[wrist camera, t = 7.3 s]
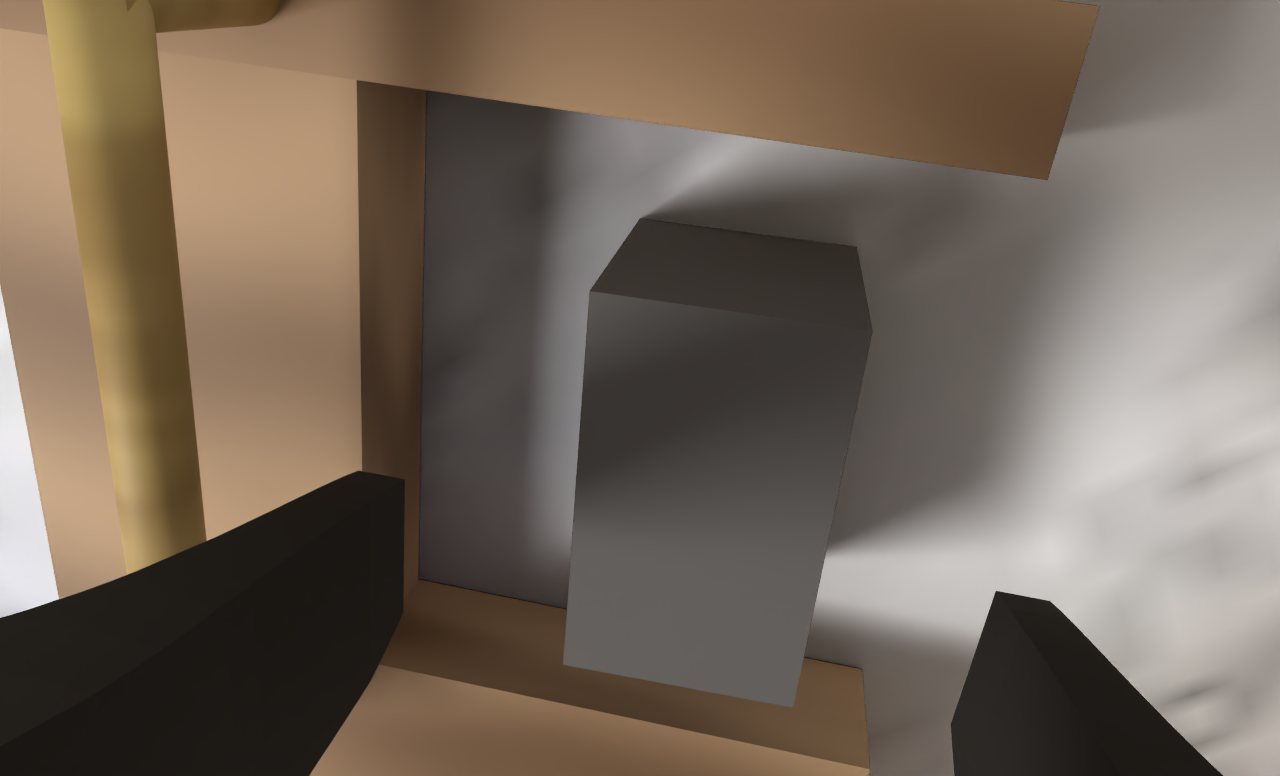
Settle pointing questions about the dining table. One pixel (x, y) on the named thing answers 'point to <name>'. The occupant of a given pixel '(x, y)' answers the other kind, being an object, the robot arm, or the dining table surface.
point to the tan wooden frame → (410, 294)
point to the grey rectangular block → (711, 455)
